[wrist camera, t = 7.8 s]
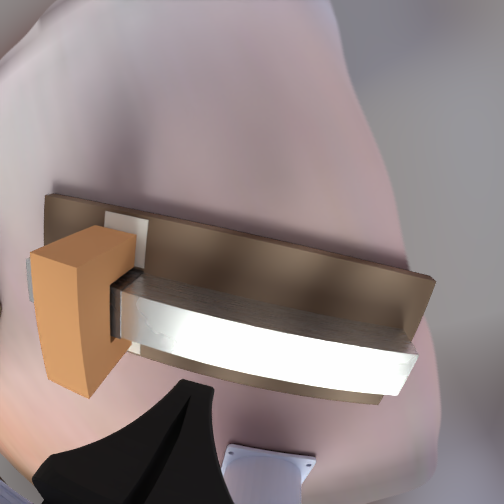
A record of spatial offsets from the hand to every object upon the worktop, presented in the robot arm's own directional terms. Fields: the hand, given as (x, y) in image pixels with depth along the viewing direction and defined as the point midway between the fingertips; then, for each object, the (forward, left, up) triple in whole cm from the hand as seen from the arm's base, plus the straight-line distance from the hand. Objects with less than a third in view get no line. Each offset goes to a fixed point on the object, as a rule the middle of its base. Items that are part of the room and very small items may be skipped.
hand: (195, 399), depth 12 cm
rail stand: (0, +1, -8) cm, 8 cm away
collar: (0, +8, -7) cm, 10 cm away
